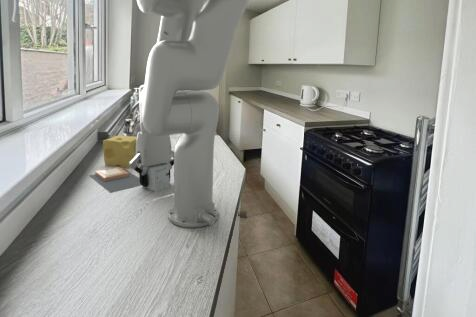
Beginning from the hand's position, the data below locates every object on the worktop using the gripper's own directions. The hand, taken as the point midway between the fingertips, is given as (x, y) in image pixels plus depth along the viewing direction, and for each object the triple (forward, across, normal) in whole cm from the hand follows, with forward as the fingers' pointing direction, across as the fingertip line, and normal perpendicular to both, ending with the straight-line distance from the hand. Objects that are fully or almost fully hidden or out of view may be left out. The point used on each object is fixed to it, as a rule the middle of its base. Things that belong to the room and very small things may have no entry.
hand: (155, 182), depth 95 cm
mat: (+1, +7, -12) cm, 14 cm away
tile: (0, +7, -13) cm, 15 cm away
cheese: (+2, -2, -28) cm, 28 cm away
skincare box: (+2, 0, 0) cm, 2 cm away
